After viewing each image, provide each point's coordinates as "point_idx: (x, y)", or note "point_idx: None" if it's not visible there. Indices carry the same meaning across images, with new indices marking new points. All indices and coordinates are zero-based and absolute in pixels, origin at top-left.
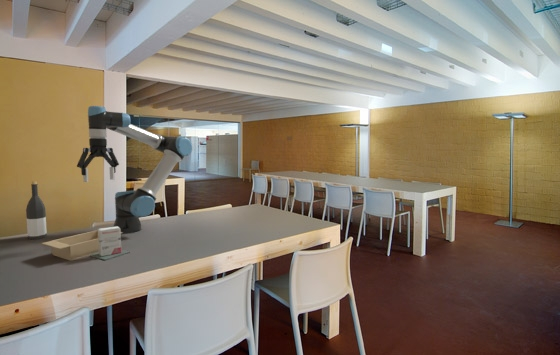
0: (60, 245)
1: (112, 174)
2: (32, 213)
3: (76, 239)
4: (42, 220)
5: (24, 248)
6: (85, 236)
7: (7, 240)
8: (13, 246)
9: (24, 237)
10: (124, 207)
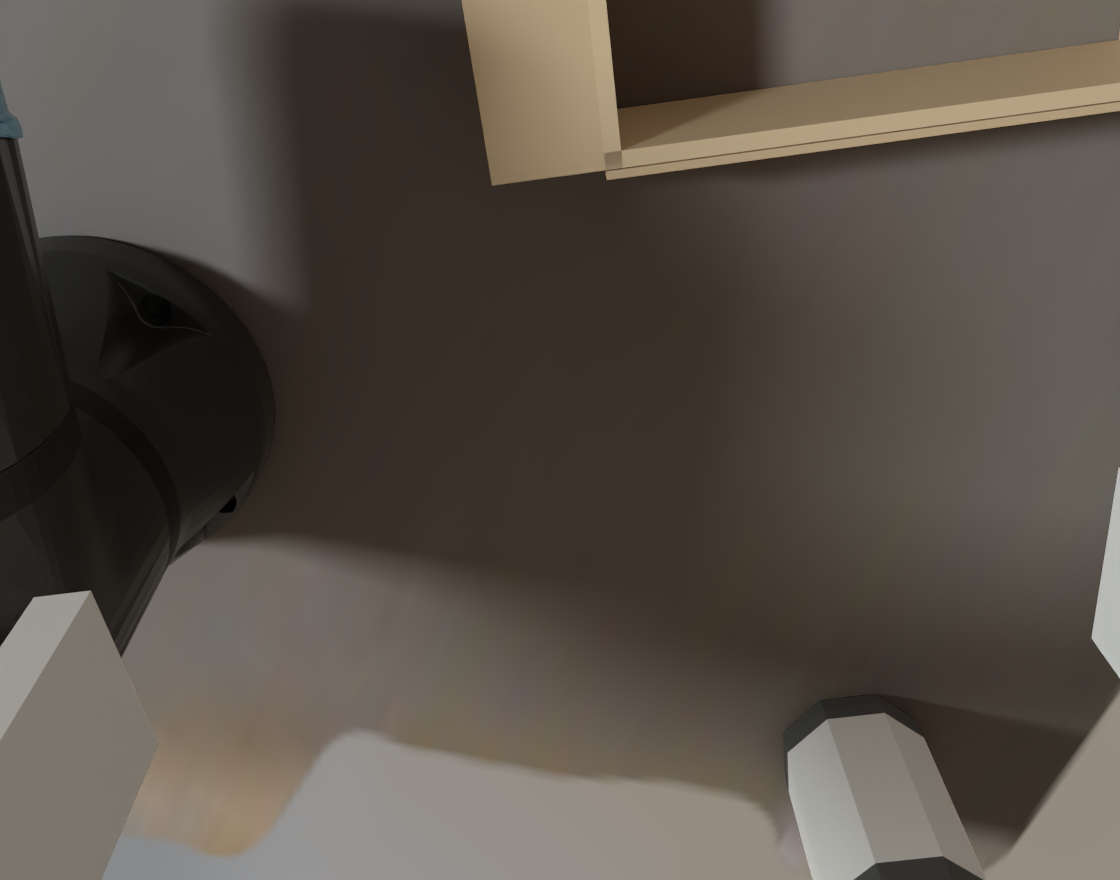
0: None
1: (10, 783)
2: None
3: (901, 98)
4: (877, 837)
5: (1107, 490)
6: (783, 116)
7: (1026, 800)
8: None
9: None
10: (59, 370)
